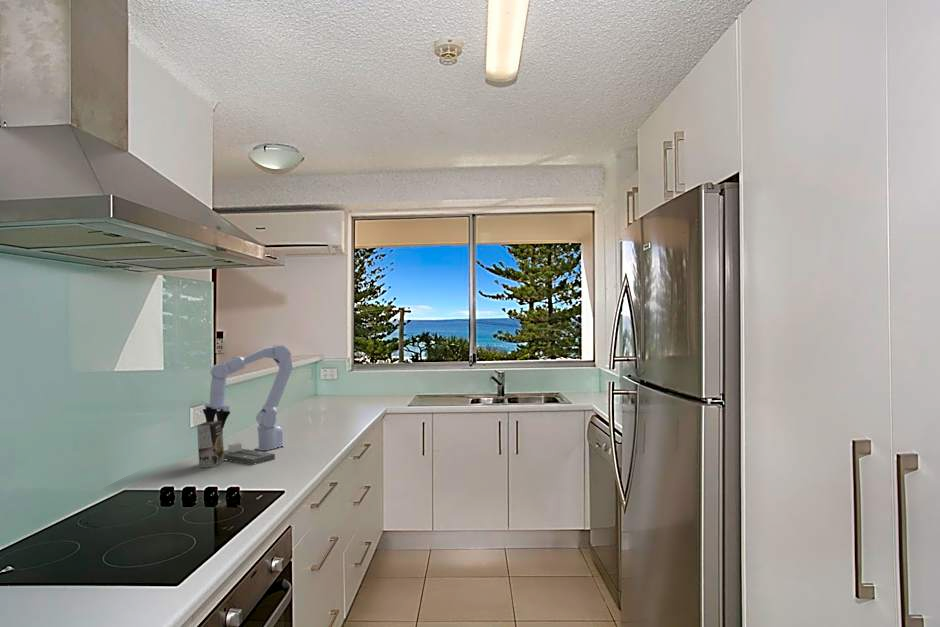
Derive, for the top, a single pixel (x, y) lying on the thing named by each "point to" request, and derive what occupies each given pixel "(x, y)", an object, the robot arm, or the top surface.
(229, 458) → the fader panel
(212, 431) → the coffee box
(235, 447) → the fader knob
